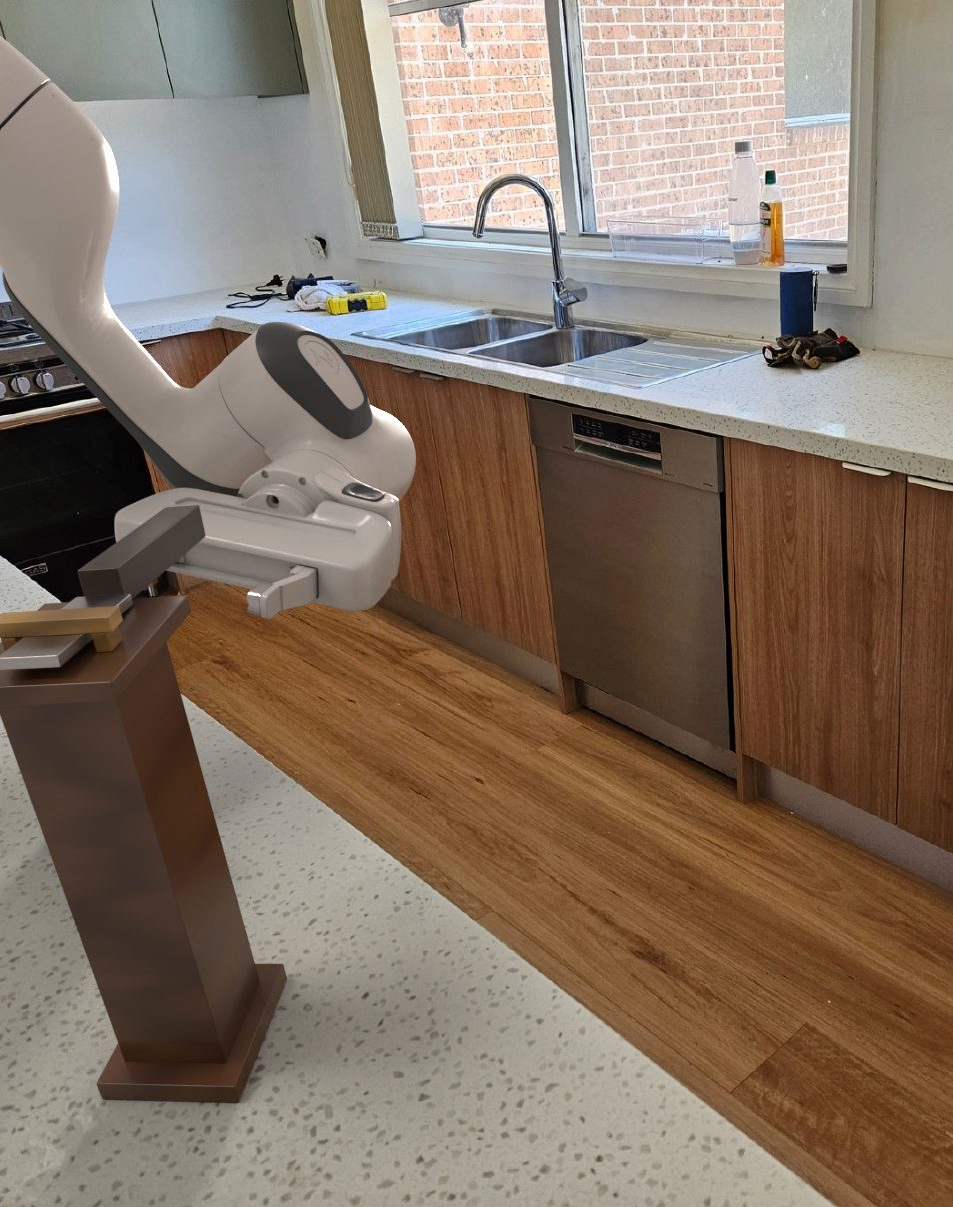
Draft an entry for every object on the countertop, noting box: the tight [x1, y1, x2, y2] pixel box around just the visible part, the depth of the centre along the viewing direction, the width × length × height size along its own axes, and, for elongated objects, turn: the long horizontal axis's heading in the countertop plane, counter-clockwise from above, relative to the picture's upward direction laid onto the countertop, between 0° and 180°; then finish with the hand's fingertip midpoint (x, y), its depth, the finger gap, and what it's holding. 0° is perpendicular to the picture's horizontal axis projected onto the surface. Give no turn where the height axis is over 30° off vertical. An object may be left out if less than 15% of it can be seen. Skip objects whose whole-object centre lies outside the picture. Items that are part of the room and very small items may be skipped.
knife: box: [0, 505, 206, 670], centre depth 56 cm, size 3×18×2 cm, turn 172°
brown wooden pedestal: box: [0, 594, 288, 1103], centre depth 56 cm, size 8×9×28 cm
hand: (193, 592), depth 70 cm, fingers open, 8 cm apart
